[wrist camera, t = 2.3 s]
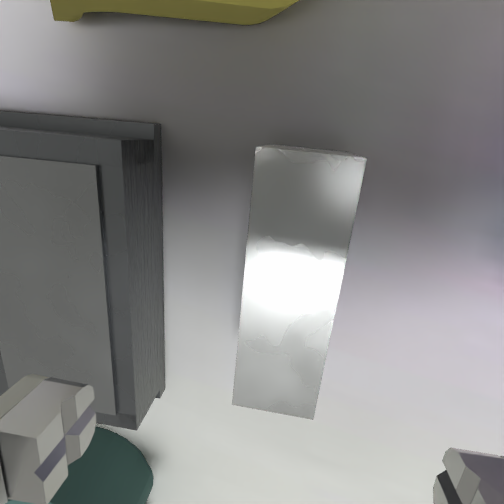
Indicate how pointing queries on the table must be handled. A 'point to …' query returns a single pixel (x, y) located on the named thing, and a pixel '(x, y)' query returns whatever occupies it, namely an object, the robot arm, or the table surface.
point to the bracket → (105, 474)
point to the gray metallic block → (293, 273)
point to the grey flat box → (83, 258)
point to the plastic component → (177, 9)
